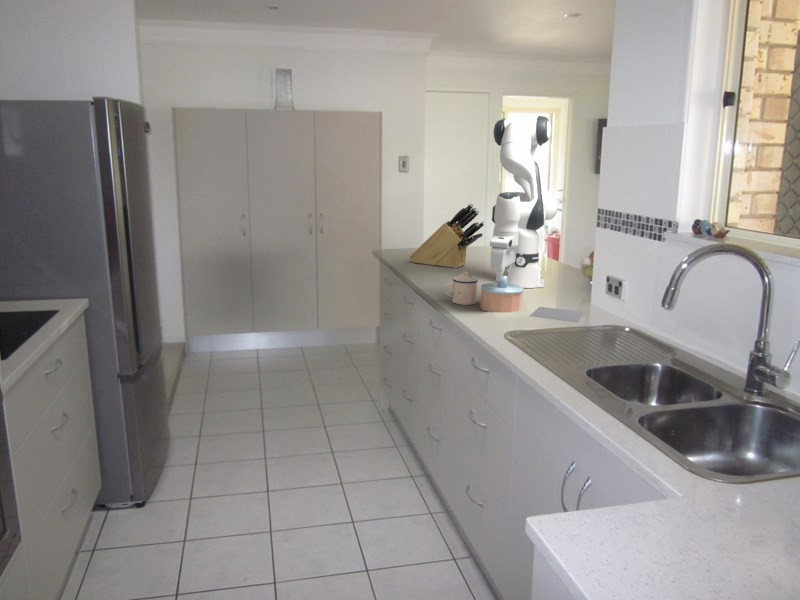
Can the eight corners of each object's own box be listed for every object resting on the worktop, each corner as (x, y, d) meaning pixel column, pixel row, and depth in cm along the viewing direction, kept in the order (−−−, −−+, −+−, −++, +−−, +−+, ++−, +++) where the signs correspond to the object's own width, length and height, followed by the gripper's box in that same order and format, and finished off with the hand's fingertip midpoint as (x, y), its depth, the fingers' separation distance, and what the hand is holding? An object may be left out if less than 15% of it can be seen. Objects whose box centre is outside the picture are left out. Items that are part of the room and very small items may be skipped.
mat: (539, 308, 235) (539, 306, 235) (584, 313, 229) (584, 312, 229) (529, 317, 221) (529, 315, 221) (576, 323, 215) (577, 322, 215)
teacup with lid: (473, 299, 245) (475, 269, 243) (478, 305, 237) (480, 274, 234) (442, 299, 244) (443, 269, 241) (446, 305, 235) (448, 273, 233)
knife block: (474, 271, 307) (478, 205, 300) (408, 263, 323) (411, 200, 316) (483, 267, 316) (487, 204, 309) (419, 260, 332) (421, 199, 326)
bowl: (487, 302, 241) (488, 284, 240) (524, 307, 236) (526, 288, 234) (475, 310, 229) (477, 291, 227) (514, 315, 223) (516, 295, 222)
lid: (487, 284, 240) (488, 270, 239) (527, 288, 235) (528, 274, 233) (475, 291, 227) (476, 277, 226) (517, 296, 221) (518, 281, 220)
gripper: (504, 235, 237) (502, 273, 240) (488, 242, 219) (486, 282, 222) (521, 237, 235) (518, 274, 238) (506, 243, 216) (503, 284, 220)
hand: (502, 278), depth 230 cm, fingers open, 8 cm apart
